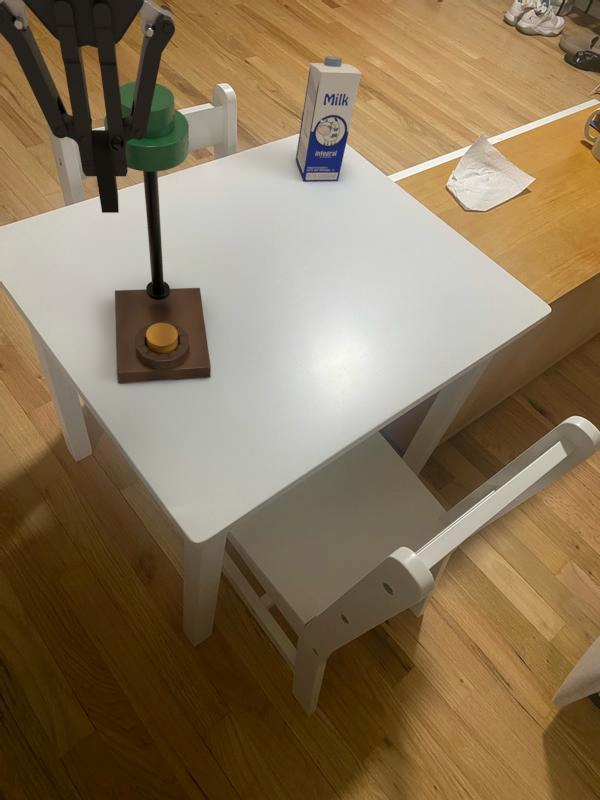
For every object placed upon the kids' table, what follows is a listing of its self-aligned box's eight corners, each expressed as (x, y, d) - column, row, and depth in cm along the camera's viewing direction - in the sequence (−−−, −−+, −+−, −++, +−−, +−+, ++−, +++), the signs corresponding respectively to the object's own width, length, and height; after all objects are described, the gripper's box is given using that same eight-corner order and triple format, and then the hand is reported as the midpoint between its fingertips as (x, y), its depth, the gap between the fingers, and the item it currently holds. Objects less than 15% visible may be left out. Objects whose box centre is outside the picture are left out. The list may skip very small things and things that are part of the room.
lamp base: (118, 383, 79) (115, 364, 76) (116, 301, 87) (113, 280, 84) (210, 377, 82) (211, 358, 78) (199, 298, 90) (199, 278, 87)
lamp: (125, 308, 81) (100, 117, 60) (123, 263, 86) (100, 72, 65) (192, 306, 83) (192, 120, 62) (187, 262, 88) (184, 76, 67)
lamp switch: (147, 355, 78) (146, 346, 76) (146, 332, 80) (145, 323, 78) (179, 353, 79) (178, 344, 77) (176, 330, 81) (176, 321, 79)
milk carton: (302, 181, 111) (320, 70, 95) (294, 159, 114) (310, 50, 98) (338, 181, 112) (363, 72, 96) (330, 159, 116) (351, 51, 100)
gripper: (169, -124, 41) (177, 179, 60) (-41, -149, 38) (37, 178, 57) (178, -84, 37) (183, 229, 56) (-57, -108, 34) (33, 230, 53)
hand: (110, 203), depth 56 cm, fingers closed
